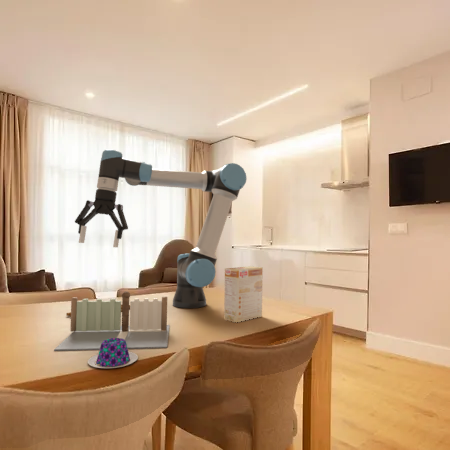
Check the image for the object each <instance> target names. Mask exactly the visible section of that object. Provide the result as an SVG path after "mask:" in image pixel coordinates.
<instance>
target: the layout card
mask: <svg viewBox="0 0 450 450" xmlns="http://www.w3.org/2000/svg"><path fill="white" fill-rule="evenodd" d="M169 331H170V324H167V330H165V331H162V330H161V329H159V330H130V325H129V331H126V332H123V331H122V325H121V329H120V330H114V331H109V330H108V331H73V332H71V333H70V334H69V335H68V336H67V337H66V338H65V339H64V340H63V341H62V342H60V343H59V345H57V346H56V347H55V348H54V349H53V350H54V352H63V351H64V352H65V351H99V350H100V347H101V344H102V342H103V341H104V340H107V339H110V338H122V339H124V340H125V341H126V343H127V348H128V350H137V349H139V350H140V349H141V350H143V349H144V350H145V349H168V343H169V341H168V340H169Z"/></svg>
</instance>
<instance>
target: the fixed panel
mask: <svg viewBox="0 0 450 450" xmlns="http://www.w3.org/2000/svg"><path fill="white" fill-rule="evenodd" d="M129 305H130V308H129V326H130V330H159V329H161V330H162V331H165V330H167V325H168V296H162V297H161V300H159V298H157V297H156V298H155V297H154V298H153V299H152V300H150V299H149V297H146V298H145V297H144V298H143V300H140V298H139V297H138V298H135V297H134V300H129Z"/></svg>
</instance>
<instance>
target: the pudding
mask: <svg viewBox="0 0 450 450" xmlns="http://www.w3.org/2000/svg"><path fill="white" fill-rule="evenodd" d="M137 360H139V356H138V355H137V354H136V353H135V352H132V351H129V349H128V348H127V343H126V341H125V340H124V339H122V338H110V339H107V340H104V341H103V342H102V344H101V347H100V350H98V353H97V354H95V355H93V356H91V357H90V358H89V359H87V364H88V365H89V366H91V367H92V368H98V369H116V368H122V367H125V366H129V365H132V364H133V363H134V362H136V361H137ZM95 361H96V362H95ZM95 364H96V365H95ZM98 364H100V365H98ZM97 365H98V366H97Z"/></svg>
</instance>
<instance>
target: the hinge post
mask: <svg viewBox="0 0 450 450" xmlns="http://www.w3.org/2000/svg"><path fill="white" fill-rule="evenodd" d="M121 297H122V298H121V305H122V312H121V326H122V331H123V332H126V331H129V326H130V308H129V305H130V298H131V294H130V292H129V291H123V292H122V294H121Z"/></svg>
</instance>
